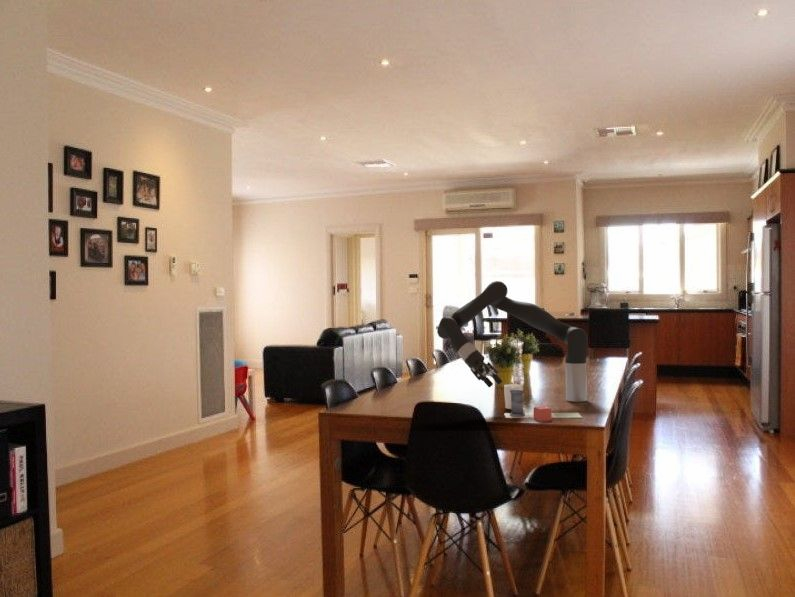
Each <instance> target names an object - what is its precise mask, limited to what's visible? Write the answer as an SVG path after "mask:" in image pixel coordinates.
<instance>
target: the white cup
mask: <svg viewBox="0 0 795 597" xmlns="http://www.w3.org/2000/svg"><path fill="white" fill-rule="evenodd" d="M510 390H523V385H522V384H516V383H513V384H511V383H510V384H504V385H503V391H504V393H503V394H504V395H503V396H504V404H505V409H507V410H511V393H510Z"/></svg>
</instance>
